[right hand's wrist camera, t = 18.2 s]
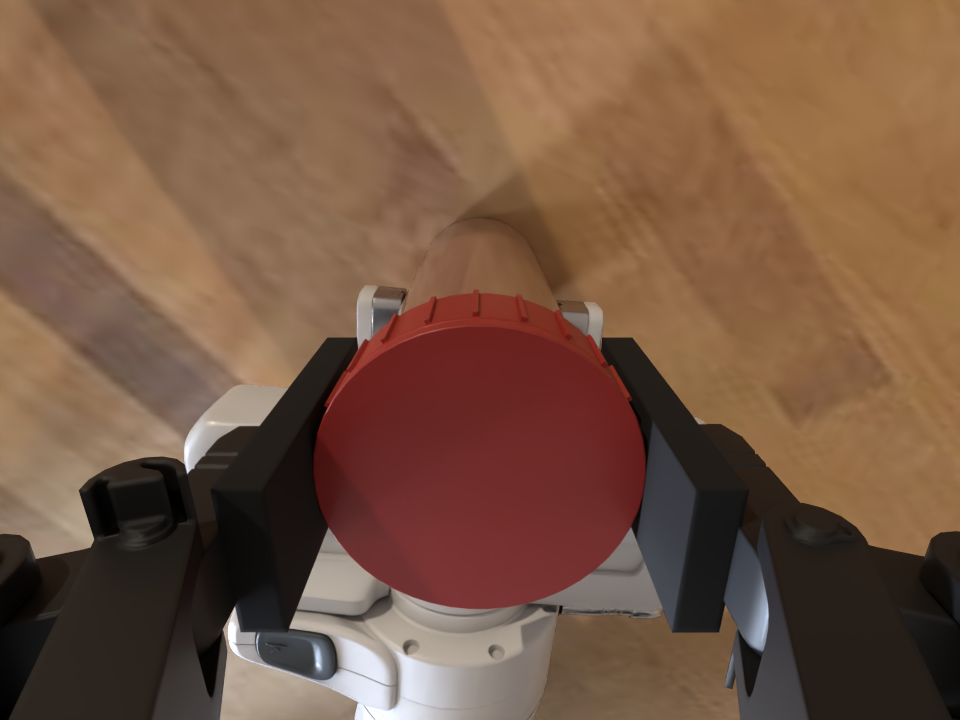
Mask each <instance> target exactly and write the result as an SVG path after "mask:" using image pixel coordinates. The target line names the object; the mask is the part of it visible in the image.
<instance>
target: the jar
mask: <svg viewBox="0 0 960 720" xmlns="http://www.w3.org/2000/svg"><path fill="white" fill-rule="evenodd" d="M473 290H479V293H492V294H499V295H507V296H513V297H516V295H517V294H519V295H522V298H523V299H524V300H527V301H531V302H533V303H536V304H538V305H541V306H543V307H545V308H548V309H550V310H552V311H553V312H555V311H556V309H557V310H559V311H561V309H560V307H559V305H558V303H557V301H556V299H555V297H554V295H553V292H552V290H551V288H550V286H549V284H548V282H547V280H546V278H545V276H544V274H543V271H542V269H541V267H540V265H539V263H538V261H537V259H536V257H535V255H534V252H533V250H532V249H531V247H530V245H529V244H528V242H527V241H526V240H525V238H524V237H523V236H522V235H521V234H520V233H519V232H518V231H516V230H515V229H513V228H512V227H511V226H509V225H507V224H505V223H502V222H500V221H497V220H493V219H488V218H472V219H466V220H463V221H460V222H457V223H455V224H453V225H451V226H449V227H448V228H446V229H445V230H443V231H442V232H441V233H440V234H439V235H438V236H437V237H436V238H435V239H434V240H433V242H432V243H431V245H430V246H429V248H428V250H427V252H426V254H425V256H424V258H423V260H422V262H421V265H420V267H419V269H418V271H417V273H416V275H415V277H414V279H413V281H412V283H411V286H410V288H409V290H408V292H407V294H406V296H405V298H404V300H403V302H402V304H401V307H400V309H399V311H398V313H397V314H398V315H401V314H403V313H405V312H406V311H408V310H410V309H412V308H414V307H416V306H419V305H421V304H424V303H426V302H429V301H430V298H431V297H433V296H436V298H437V299H439V298H443V297H447V296H452V295H460V294H468V293H473ZM561 313H562V311H561ZM562 315H563V313H562ZM563 317H564V316H563Z"/></svg>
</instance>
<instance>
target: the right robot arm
mask: <svg viewBox="0 0 960 720" xmlns="http://www.w3.org/2000/svg"><path fill="white" fill-rule="evenodd" d="M357 351H358V340H357V338H327V339H326V340H325V341H324V343H323V344H322V345H321V347H320V348H319V349H318V351H317V352H316V353H315V354H314V356H313V357H312V358H311V360H310V361H309V362H308V364H307V365H306V366H305V367H304V369H303V370H302V371H301V373H300V374H299V375H298V377H297V378H296V379H295V380H294V382H293V383H292V384H291V386H290V387H289V388H288V390H287V391H286V392H285V393H284V395H283V396H282V397H281V399H280V400H279V401H278V403H277V404H276V405H275V406H274V408H273V409H272V410H271V412H270V413H269V414H268V416H267V417H266V418H265V419H264V421H263V422H262V423H261V425H260V426H238V427H237V428H235V429H233V430H232V431H230V432H228V433H227V434H225V435H223V436H222V437H220V438H218V439H217V440H216V442H215V443H214V444H213V445H212V446H211V447H210V448H209V450H208V451H207V452H206V453H205V456H202V458H201V459H200V460H199V461H198V462H197V463H196V464H195V467H194V469H191V470H190V471H189V472H188V474H187V471H186V466H185V464H183V463H182V462H180V461H179V460H177V459H173V458H168V457H148V458H141V459H137V460H132V461H128V462H124V463H121V464H119V465H116V466H114V467H111V468H109V469H106V470H104V471H102V472H101V473H99V474H97V475H96V476H94V477H93V478H91V479H89V480H88V481H87V482H86V483H85V484H84V485H83V487H82V488H81V489H80V490H79V493H80V496H81V499H82V502H83V505H84V508H85V512H86V515H87V518H88V521H89V524H90V527H91V530H92V534H93V537H94V542H93V544H92V546H91V548H87V549H84V550H79V551H74V552H69V553H64V554H59V555H54V556H49V557H44V558H39V559H36V558H35V556H34V553H33V550H32V548H31V545H30V542H29V541H28V540H26V539H25V538H23V537H22V536H20V535H11V534H0V720H220V712H221V703H222V694H223V686H224V677H225V668H226V659H227V647H226V641H225V636H224V632H223V628H224V626H225V624H226V622H227V620H228V618H229V616H230V614H231V612H232V611H233V609H234V607H235V609H236V613H237V618H238V623H239V627H240V632H288V630H289V627H290V625H291V622H292V620H293V617H294V615H295V612H296V610H297V607H298V604H299V602H300V599H301V597H302V594H303V592H304V589H305V586H306V584H307V581H308V579H309V576H310V574H311V571H312V568H313V566H314V563H315V561H316V558H317V556H318V553H319V551H320V548H321V545H322V543H323V540H324V538H325V535H326V533H327V530H328V525H327V523H326V521H325V519H324V516H323V514H322V512H321V510H320V506H319V503H318V499H317V495H316V489H315V481H314V473H313V452H314V447H315V442H316V436H317V432H318V430H319V427H320V424H321V421H322V418H323V416H324V414H325V412H326V410H327V407H325V403H326V401H327V400H328V398H329V396H330V395H331V393H332V391H333V389H334V388H335V386H336V384H337V383H338V381H339V379H340V377H341V376H342V374H343V372H344V371H347V368H348V366H349V365H350V363H351V361H352V359H353V358H354V356H355V354H356V353H357ZM601 353H602V355H603V356H604V358H605V360H606V362H607V363H608V366H611V365H613V367H614V369H615V370H616V372H617V374H618V376H619V377H620V379H621V381H622V382H623V384H624V386H625V388H626V389H627V391H628V393H629V394H630V396H631V398H632V400H631V401H629V404H630V406H631V408H632V409H633V411H634V413H635V415H636V417H637V420H638V423H639V426H640V429H641V432H642V435H643V439H644V445H645V451H646V478H645V486H644V493H643V498H642V501H641V504H640V508H639V511H638V513H637V515H636V517H635V520H634V522H633V524H632V526H631V528H632V531H633V533H634V536H635V539H636V541H637V544H638V546H639V549H640V551H641V554H642V556H643V559H644V562H645V564H646V567H647V569H648V572H649V574H650V577H651V580H652V582H653V585H654V587H655V590H656V592H657V595H658V598H659V600H660V603H661V605H662V608H663V610H664V613H665V616H666V618H667V621H668V623H669V626H670V628H671V631H672V632H719V630H720V626H721V621H722V616H723V612H724V607H725V605H726V606H727V608H728V610H729V612H730V614H731V616H732V618H733V620H734V622H735V624H736V625H737V627H738V628H737V632H736V636H735V641H734V645H733V649H732V654H731V658H730V663H729V667H728V671H727V676H726V682H725V687H727V688H730V689H732V688H733V684H734V680H735V677H736V684H737V693H738V702H739V710H740V719H741V720H960V532H958V531H954V532H943V533H939V534H938V535H936V536H935V537H933V538H932V539H931V541H930V544H929V546H928V549H927V552H926V554H925V557H923V556H918V555H913V554H908V553H903V552H898V551H893V550H888V549H883V548H878V547H874V546H870V545H868V543H867V541H866V539H865V537H864V536H863V535H862V534H861V532H860V531H859V530H858V529H857V527H855V526H854V525H853V524H851V523H850V522H848V521H847V520H846V519H844V518H843V517H841V516H839V515H837V514H835V513H833V512H830V511H828V510H826V509H824V508H821V507H817V506H813V505H809V504H805V503H800V502H799V501H798V500H797V499H796V497H795V496H794V495H793V494H792V493H791V492H790V491H789V490H788V488H787V487H786V486H785V485H784V484H783V483H782V482H781V480H780V479H779V478H778V477H777V476H776V475H775V474H774V473H773V471H772V470H771V469H770V468H769V467H766V463H765V462H764V461H763V460H762V459H761V458H760V457H759V456H758V454H755V451H754V450H753V449H752V448H751V446H750V445H749V444H748V443H747V442H746V441H745V440H744V439H743V437H742V436H740V435H738V434H736V433H735V432H733V431H731V430H730V429H728V428H726V427H725V426H723V425H721V424H698V422H697V421H696V420H695V419H694V417H693V416H692V415H691V413H690V412H689V411H688V409H687V408H686V407H685V406H684V404H683V403H682V402H681V400H680V399H679V398H678V396H677V395H676V394H675V393H674V391H673V390H672V389H671V387H670V386H669V385H668V383H667V382H666V381H665V380H664V378H663V377H662V376H661V374H660V373H659V372H658V370H657V369H656V368H655V367H654V365H653V364H652V363H651V361H650V360H649V359H648V357H647V356H646V355H645V354H644V352H643V351H642V350H641V348H640V347H639V346H638V344H637V343H636V342H635V341H634V339H633V338H602V348H601ZM347 372H348V371H347Z"/></svg>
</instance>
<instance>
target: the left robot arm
mask: <svg viewBox="0 0 960 720" xmlns="http://www.w3.org/2000/svg"><path fill="white" fill-rule="evenodd" d="M406 294H407V289H403V288H393V287H382V286H371V285H365V286H364V287H363V289H362V290H361V291H360V293H359V297H358V303H357V340H358V349H359V347H360V346H361V344H362V342H363V341H364V340H365V339H367V340H368V341H369V340H370V339H371V338H372V337H373V336H374V335H375V334H376V333H377V332H378V331H379V330H380V329H381V328H382V327H384V326H385V325H386V324H388V323H389V322H390V320H391V318H392V316H393V315H394V314H395V313H398V311H399V309H400V307H401V304H402V302H403V300H404V298H405V296H406ZM556 301H557V303H558V305H559V307H560V309H561V311H562V313H563V316H564V318H565V319H567V320H568V321H569V322H570V323H572V324H573V325H574V326H576V327H577V328H578V329H579V330H581V331H582V332H583V333H584V334H585V335H586V336H587V335H588V334H590V335H591V336H592V337H593V339H594V341H595V342H596V344H597V346H598V348H600V342H601V336H602V330H603V324H604V322H603V311H602V309H601V308H600V307H599V305H598V304H597V303H592V302H580V301H564V300H556ZM287 390H288V387H274V386H261V385H247V384H244V385H237V386H235V387H233V388H231V389H230V390H229V391H228V392H227V393H225V394H224V395H223V396H222V397H221V398H220V399H219V400H217V401H216V402H215V403H214V404H213V405H212V406H211V407H210V408H209V409H208V410H207V411H206V412H205V413H204V414H203V415H202V416H201V417H200V419H199V420H198V421H197V422H196V424H195V425H194V426H193V428H192V429H191V431H190V432H189V434H188V436H187V439H186V442H185V448H184V460H185V466H186V471H187V474H188V472H189V471H190V470H191V469H194V467H195V464H196V463H197V462H198V461H199V460H200V459H201V458H202V456H205V453H206V452H207V451H208V450H209V448H210V447H211V446H212V445H213V444H214V443H215V442H216V440H217V439H218V438H220V437H222V436H223V435H225V434H227V433H228V432H230V431H232V430H233V429H235V428H237V427H238V426H260V425H261V423H262V422H263V421H264V419H265V418H266V417H267V416H268V414H269V413H270V412H271V410H272V409H273V408H274V406H275V405H276V404H277V403H278V401H279V400H280V399H281V397H282V396H283V395H284V393H285V392H286V391H287ZM694 419H695V420H696V421H697V422H698V424H706V423H705V422H704V421H702V420H701V419H699V418H697V417H694ZM662 610H663V608H662V605H661V603H660V600H659V598H658V595H657V592H656V590H655V587H654V585H653V582H652V580H651V577H650V574H649V572H648V569H647V567H646V564H645V562H644V559H643V556H642V554H641V551H640V549H639V546H638V544H637V541H636V539H635V536H634V533H633V531H632V528H630V530H629V531H628V533H627V534H626V536H625V537H624V539H623V541H622V542H621V544H620V545H619V546H618V547H617V548H616V549H615V551H614V552H613V553H612V554H611V555H610V557H609V558H608V559H606V560H605V561H604V562H603V563H602V564H601V565H600V566H599V567H598V568H597V569H596V570H594V571H593V572H592V573H590V574H589V575H587V576H586V577H585V578H583V579H582V580H581V581H579V582H577V583H575V584H574V585H572V586H570V587H568V588H567V589H565V590H563V591H561V592H558V593H556V594H554V595H551V596H549V597H546V598H544V599H540V600H537V601H534V602H531V603H527V604H523V605H517V606H512V607H507V608H496V609H463V608H454V607H447V606H442V605H437V604H432V603H429V602H425V601H422V600H419V599H416V598H413V597H410V596H408V595H406V594H404V593H401V592H399V591H397V590H395V589H393V588H391V587H389V586H388V585H386V584H384V583H382V582H381V581H379V580H377V579H376V578H375V577H373V576H372V575H371V574H369V573H368V572H367V571H365V570H364V569H363V568H362V567H361V566H359V565H358V564H357V563H356V562H355V561H354V560H353V559H352V558H351V557H350V556H349V555H348V554H347V553H346V551H345V550H344V549H343V548H342V546H341V545H340V544H339V543H338V542H337V540H336V538H335V537H334V535H333V534H332V532H331V530H330V529H329V527H328V530H327V533H326V535H325V538H324V540H323V543H322V545H321V548H320V551H319V553H318V556H317V558H316V561H315V563H314V566H313V568H312V571H311V574H310V576H309V579H308V581H307V584H306V586H305V589H304V592H303V594H302V597H301V599H300V602H299V604H298V607H297V610H296V612H295V615H294V617H293V620H292V622H291V625H290V627H289V630H288V632H240V627H239V623H238V618H237V613H236V609H235V608H234V611H233V614H232V616H231V619H230V622H229V626H228V639H229V644H230V646H231V648H232V650H233V651H234V653H235V654H237V655H238V656H239V657H241V658H243V659H245V660H248V661H250V662H253V663H257V664H260V665H264V666H267V667H271V668H274V669H277V670H281V671H284V672H287V673H290V674H294V675H296V676H299V677H302V678H305V679H308V680H311V681H313V682H316V683H319V684H321V685H324V686H326V687H328V688H331V689H333V690H335V691H337V692H340V693H342V694H343V695H345V696H347V697H349V698H351V699H353V700H355V701H357V702H358V705H357V709H356V713H355V718H354V720H536V719H535V713H536V711H537V709H538V707H539V705H540V702H541V700H542V697H543V694H544V691H545V686H546V681H547V675H548V670H549V664H550V658H551V652H552V647H553V640H554V635H555V629H556V624H557V618H558V616H559V614H565V615H582V616H600V615H601V616H606V615H623V616H629V617H630V618H635V619H653V618H658V617H660V615H661V612H662Z"/></svg>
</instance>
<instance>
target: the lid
mask: <svg viewBox="0 0 960 720" xmlns="http://www.w3.org/2000/svg"><path fill="white" fill-rule="evenodd" d="M347 371H348V372H347ZM347 371H344V372H343V374H342V376H341V377H340V379H339V381H338V383H337V384H336V386H335V388H334V389H333V391H332V393H331V395H330V396H329V398H328V400H327V401H326V403H325V407H327V410H326V412H325V414H324V416H323V418H322V421H321V424H320V427H319V430H318V432H317V436H316V442H315V447H314V452H313V473H314V481H315V489H316V495H317V499H318V503H319V506H320V510H321V512H322V514H323V516H324V519H325V521H326V523H327V525H328V527H329V529H330V530H331V532H332V534H333V535H334V537H335V538H336V540H337V542H338V543H339V544H340V545H341V546H342V548H343V549H344V550H345V551H346V553H347V554H348V555H349V556H350V557H351V558H352V559H353V560H354V561H355V562H356V563H357V564H358V565H359V566H361V567H362V568H363V569H364V570H365V571H367V572H368V573H369V574H371V575H372V576H373V577H375V578H376V579H377V580H379V581H381V582H382V583H384V584H386V585H388V586H389V587H391V588H393V589H395V590H397V591H399V592H401V593H404V594H406V595H408V596H410V597H413V598H416V599H419V600H422V601H425V602H429V603H432V604H437V605H442V606H447V607H454V608H463V609H496V608H507V607H512V606H517V605H523V604H527V603H531V602H534V601H537V600H540V599H544V598H546V597H549V596H551V595H554V594H556V593H558V592H561V591H563V590H565V589H567V588H568V587H570V586H572V585H574V584H575V583H577V582H579V581H581V580H582V579H583V578H585V577H586V576H587V575H589V574H590V573H592V572H593V571H594V570H596V569H597V568H598V567H599V566H600V565H601V564H602V563H603V562H604V561H605V560H606V559H608V558H609V557H610V555H611V554H612V553H613V552H614V551H615V549H616V548H617V547H618V546H619V545H620V544H621V542H622V541H623V539H624V537H625V536H626V534H627V533H628V531H629V530H630V528H631V526H632V524H633V522H634V520H635V517H636V515H637V513H638V511H639V508H640V504H641V501H642V498H643V493H644V486H645V478H646V451H645V445H644V439H643V435H642V432H641V429H640V426H639V423H638V420H637V417H636V415H635V413H634V411H633V409H632V408H631V406H630V404H629V401H631V400H632V398H631V396H630V394H629V393H628V391H627V389H626V388H625V386H624V384H623V382H622V381H621V379H620V377H619V376H618V374H617V372H616V370H615V369H614V367H613V365H611V366H608V363H607V362H606V360H605V358H604V356H603V355H602V353H601V351H600V349H599V348H598V346H597V344H596V342H595V341H594V339H593V337H592V336H591V335H590V334H588V335H587V336H586V335H585V334H584V333H583V332H582V331H581V330H579V329H578V328H577V327H576V326H574V325H573V324H572V323H570V322H569V321H568V320H567V319H565V318H564V317H563V315H562V313H561V311H559V310H557V309H556V311H555V312H553V311H552V310H550V309H548V308H545V307H543V306H541V305H538V304H536V303H533V302H531V301H527V300H524V299H523V298H522V295H519V294H517V295H516V297H513V296H507V295H499V294H492V293H479V290H473V293H468V294H460V295H452V296H447V297H443V298H439V299H437V298H436V296H433V297H431V298H430V301H429V302H426V303H424V304H421V305H419V306H416V307H414V308H412V309H410V310H408V311H406V312H405V313H403V314H401V315H398V314H397V313H395V314H394V315H393V316H392V318H391V320H390V322H389V323H388V324H386V325H385V326H384V327H382V328H381V329H380V330H379V331H378V332H377V333H376V334H375V335H374V336H373V337H372V338H371V339H370V340H369V341H368V340H367V339H365V340H364V341H363V342H362V344H361V346H360V347H359V349H358V351H357V353H356V354H355V356H354V358H353V359H352V361H351V363H350V365H349V366H348V368H347Z"/></svg>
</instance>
